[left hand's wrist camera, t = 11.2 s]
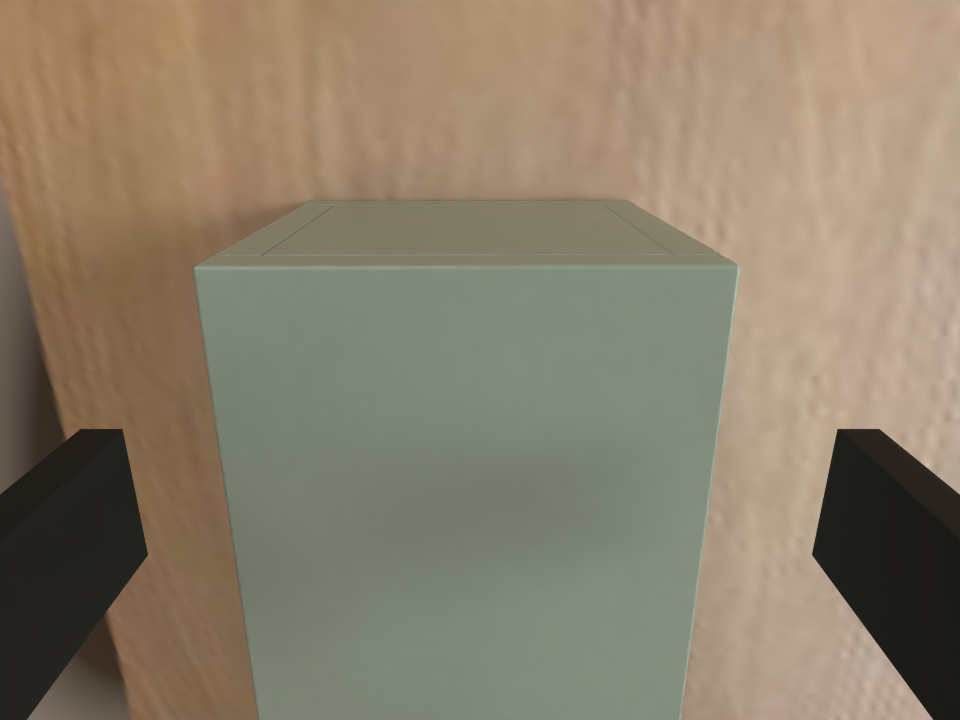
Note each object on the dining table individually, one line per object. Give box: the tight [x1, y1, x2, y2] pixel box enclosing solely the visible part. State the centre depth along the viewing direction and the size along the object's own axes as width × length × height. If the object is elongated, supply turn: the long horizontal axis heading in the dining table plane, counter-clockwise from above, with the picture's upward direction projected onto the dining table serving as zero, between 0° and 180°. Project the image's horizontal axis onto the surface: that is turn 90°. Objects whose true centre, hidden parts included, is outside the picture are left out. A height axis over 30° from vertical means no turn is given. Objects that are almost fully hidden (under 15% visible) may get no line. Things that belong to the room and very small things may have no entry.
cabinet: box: [193, 200, 740, 720], centre depth 21 cm, size 21×10×10 cm, turn 0°
